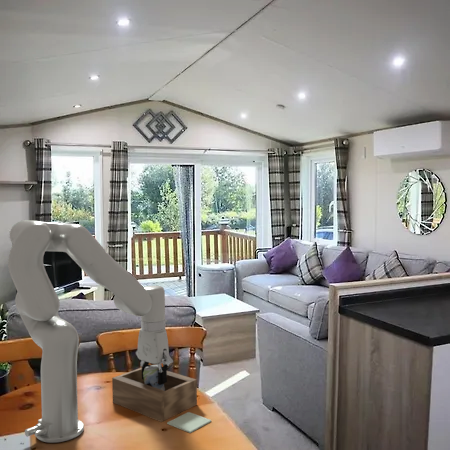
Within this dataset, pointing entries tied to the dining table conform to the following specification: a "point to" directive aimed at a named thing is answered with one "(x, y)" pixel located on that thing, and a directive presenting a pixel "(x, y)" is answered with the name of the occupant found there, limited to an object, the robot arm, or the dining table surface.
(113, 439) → the dining table surface
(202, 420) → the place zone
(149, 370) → the beverage can
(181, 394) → the box
